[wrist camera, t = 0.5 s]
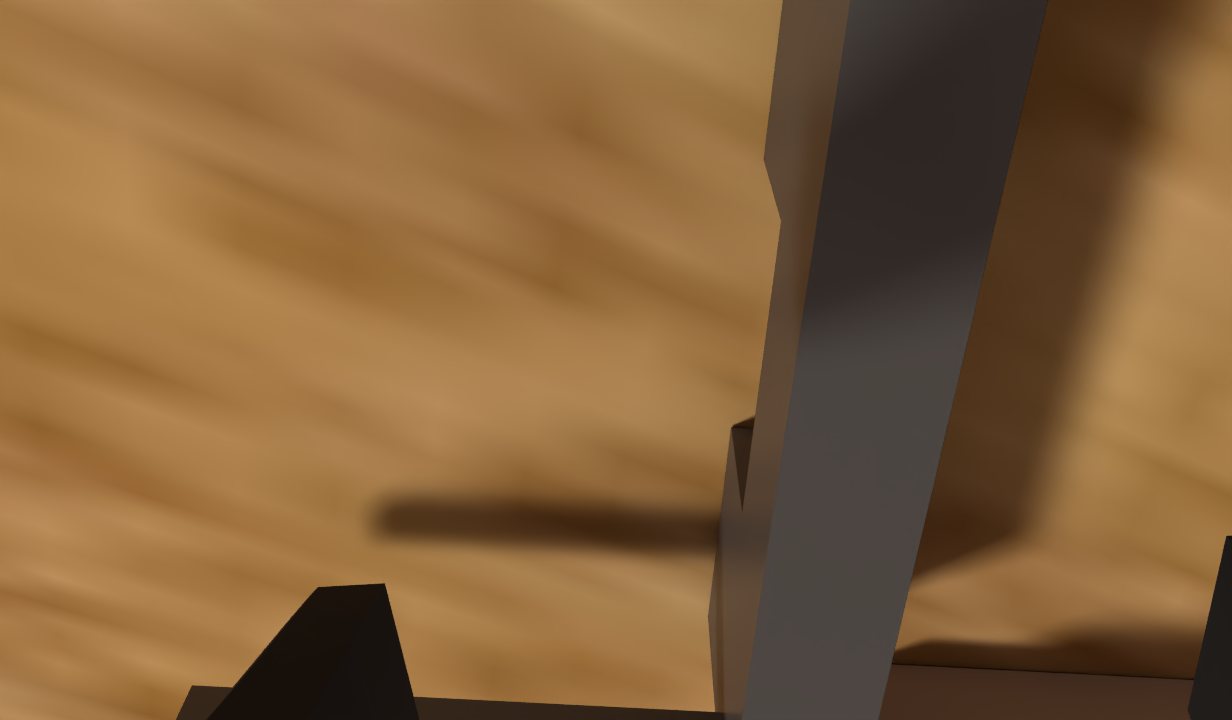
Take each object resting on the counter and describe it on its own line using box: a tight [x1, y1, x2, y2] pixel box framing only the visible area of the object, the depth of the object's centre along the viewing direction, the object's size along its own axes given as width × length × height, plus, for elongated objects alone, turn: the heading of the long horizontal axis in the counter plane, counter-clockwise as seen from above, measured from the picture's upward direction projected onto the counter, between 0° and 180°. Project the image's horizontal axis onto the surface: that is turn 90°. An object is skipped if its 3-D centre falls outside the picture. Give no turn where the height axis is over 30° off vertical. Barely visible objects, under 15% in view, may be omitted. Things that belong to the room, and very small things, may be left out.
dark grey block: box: [176, 0, 1048, 720], centre depth 16 cm, size 11×14×5 cm
